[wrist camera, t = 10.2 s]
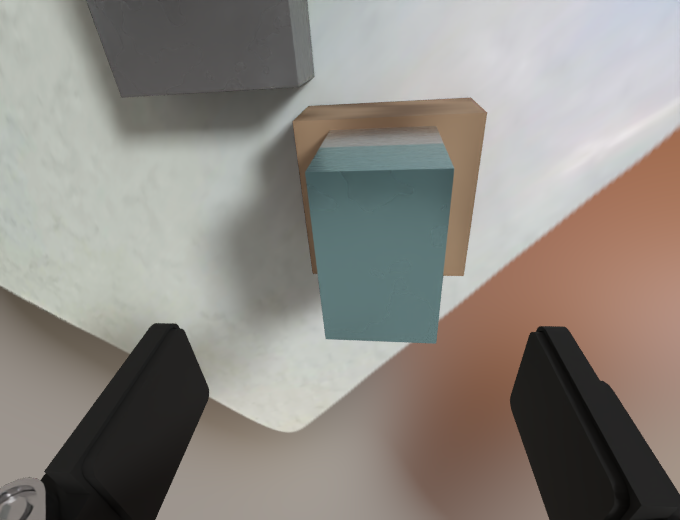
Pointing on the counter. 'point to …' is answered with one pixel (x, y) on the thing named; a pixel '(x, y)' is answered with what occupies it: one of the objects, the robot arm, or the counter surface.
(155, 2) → the stand
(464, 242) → the stand
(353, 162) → the teal and grey block
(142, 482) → the robot arm
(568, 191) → the counter surface
